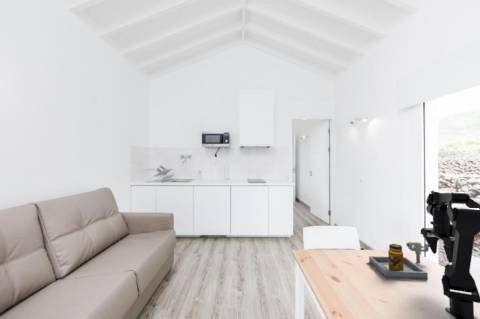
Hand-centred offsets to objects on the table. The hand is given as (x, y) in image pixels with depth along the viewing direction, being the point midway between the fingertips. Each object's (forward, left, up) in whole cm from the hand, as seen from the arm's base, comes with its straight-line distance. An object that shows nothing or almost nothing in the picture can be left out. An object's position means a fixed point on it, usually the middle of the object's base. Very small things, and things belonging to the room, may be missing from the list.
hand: (442, 257), depth 103 cm
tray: (+17, +10, -13) cm, 24 cm away
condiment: (+16, +11, -12) cm, 23 cm away
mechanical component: (+27, -6, -13) cm, 31 cm away
